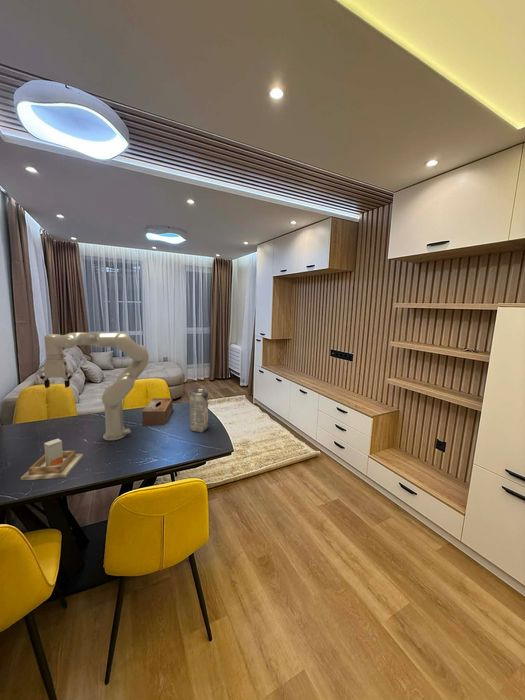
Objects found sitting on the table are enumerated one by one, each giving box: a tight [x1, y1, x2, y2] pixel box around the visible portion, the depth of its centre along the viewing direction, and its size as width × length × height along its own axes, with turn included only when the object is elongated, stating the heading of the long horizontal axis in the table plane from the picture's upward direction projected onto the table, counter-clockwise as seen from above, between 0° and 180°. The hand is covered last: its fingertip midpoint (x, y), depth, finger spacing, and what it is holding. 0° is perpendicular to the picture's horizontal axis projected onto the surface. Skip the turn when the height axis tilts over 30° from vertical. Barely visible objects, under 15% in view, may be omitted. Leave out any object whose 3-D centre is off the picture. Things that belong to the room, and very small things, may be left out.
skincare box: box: [43, 438, 64, 466], centre depth 134 cm, size 6×4×12 cm
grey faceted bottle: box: [189, 388, 209, 433], centre depth 179 cm, size 9×10×27 cm
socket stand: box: [20, 450, 84, 481], centre depth 135 cm, size 18×18×4 cm
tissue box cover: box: [141, 397, 174, 426], centre depth 197 cm, size 26×14×10 cm, turn 7°
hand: (57, 387), depth 152 cm, fingers open, 9 cm apart
